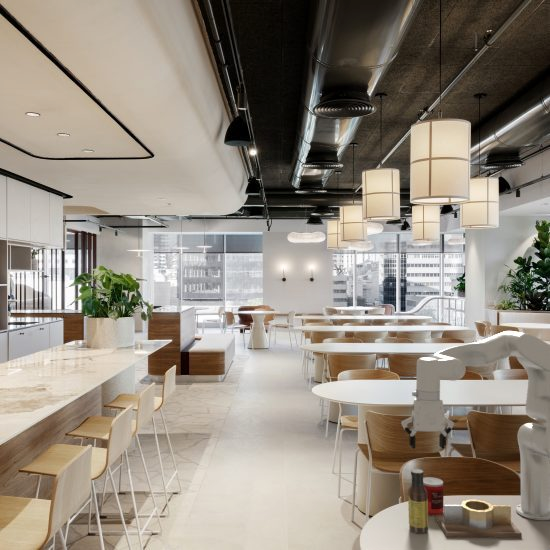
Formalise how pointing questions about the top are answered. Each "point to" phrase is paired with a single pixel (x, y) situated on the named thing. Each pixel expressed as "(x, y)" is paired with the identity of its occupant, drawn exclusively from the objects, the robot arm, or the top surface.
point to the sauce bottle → (418, 503)
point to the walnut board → (464, 531)
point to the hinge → (477, 514)
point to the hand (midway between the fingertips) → (427, 447)
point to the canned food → (434, 495)
